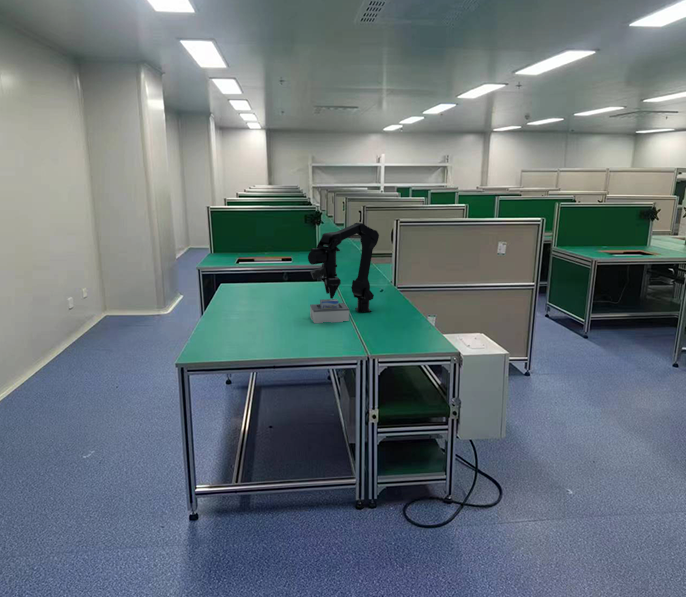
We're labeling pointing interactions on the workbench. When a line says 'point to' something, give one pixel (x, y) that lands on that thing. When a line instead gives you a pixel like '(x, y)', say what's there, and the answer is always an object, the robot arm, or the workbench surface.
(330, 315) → the open box
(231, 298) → the workbench surface
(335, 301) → the medicine box
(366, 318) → the workbench surface
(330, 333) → the workbench surface
